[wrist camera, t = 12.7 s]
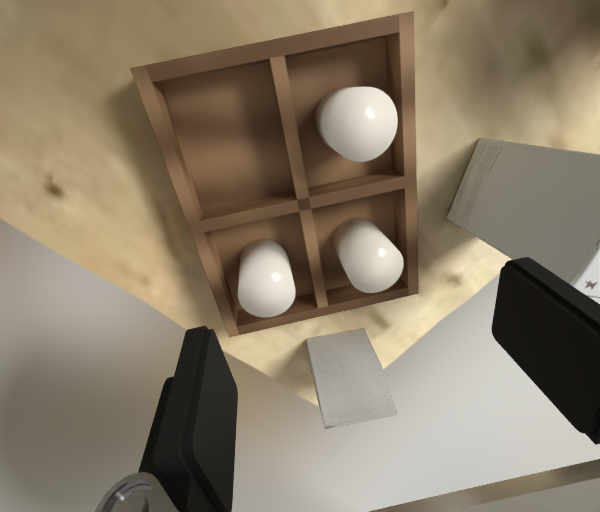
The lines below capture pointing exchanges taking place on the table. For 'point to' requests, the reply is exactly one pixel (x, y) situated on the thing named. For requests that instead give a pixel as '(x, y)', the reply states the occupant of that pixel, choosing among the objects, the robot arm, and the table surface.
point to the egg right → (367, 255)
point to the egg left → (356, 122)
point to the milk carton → (348, 379)
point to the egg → (265, 278)
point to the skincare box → (535, 207)
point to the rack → (287, 159)
